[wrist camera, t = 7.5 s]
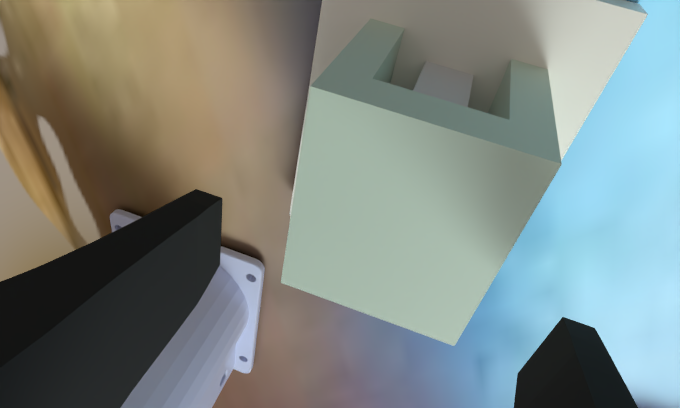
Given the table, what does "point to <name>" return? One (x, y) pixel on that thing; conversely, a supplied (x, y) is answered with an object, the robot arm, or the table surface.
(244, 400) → the table surface
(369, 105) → the housing
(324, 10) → the stub plate
